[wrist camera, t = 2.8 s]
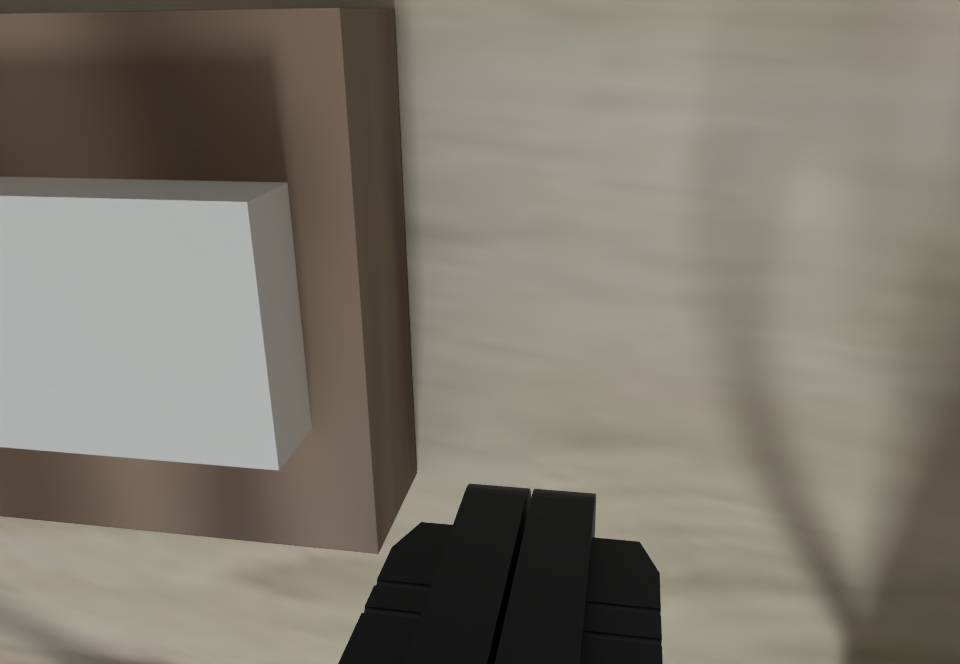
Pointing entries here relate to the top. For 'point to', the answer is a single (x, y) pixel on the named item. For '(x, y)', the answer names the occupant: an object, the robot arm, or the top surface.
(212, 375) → the white rectangular block
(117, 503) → the deck
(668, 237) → the top surface
